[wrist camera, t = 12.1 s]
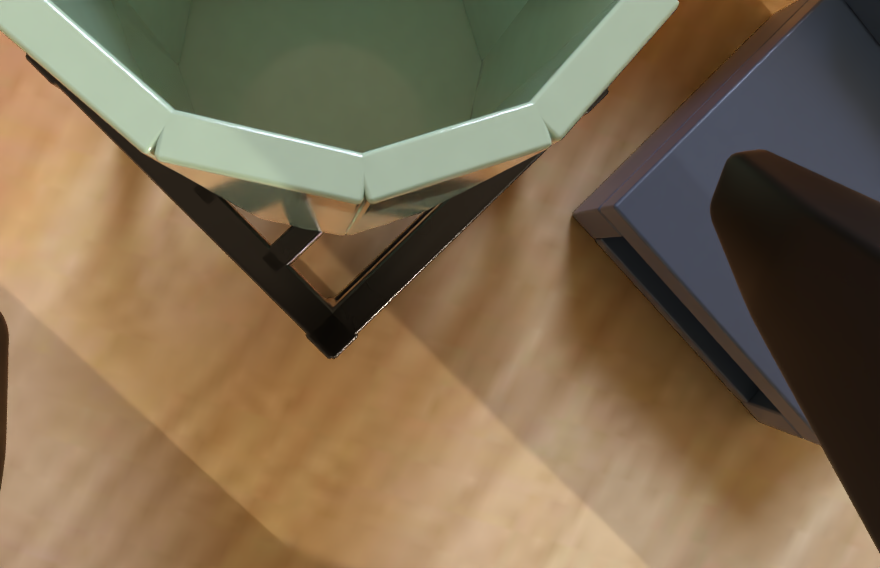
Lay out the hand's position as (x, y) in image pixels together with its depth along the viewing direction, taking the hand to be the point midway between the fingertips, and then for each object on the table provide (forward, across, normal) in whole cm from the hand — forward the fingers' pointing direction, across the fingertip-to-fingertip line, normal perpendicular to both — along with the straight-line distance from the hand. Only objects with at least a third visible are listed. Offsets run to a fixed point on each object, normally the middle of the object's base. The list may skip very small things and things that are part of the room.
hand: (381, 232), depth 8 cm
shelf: (+7, -12, +8) cm, 16 cm away
